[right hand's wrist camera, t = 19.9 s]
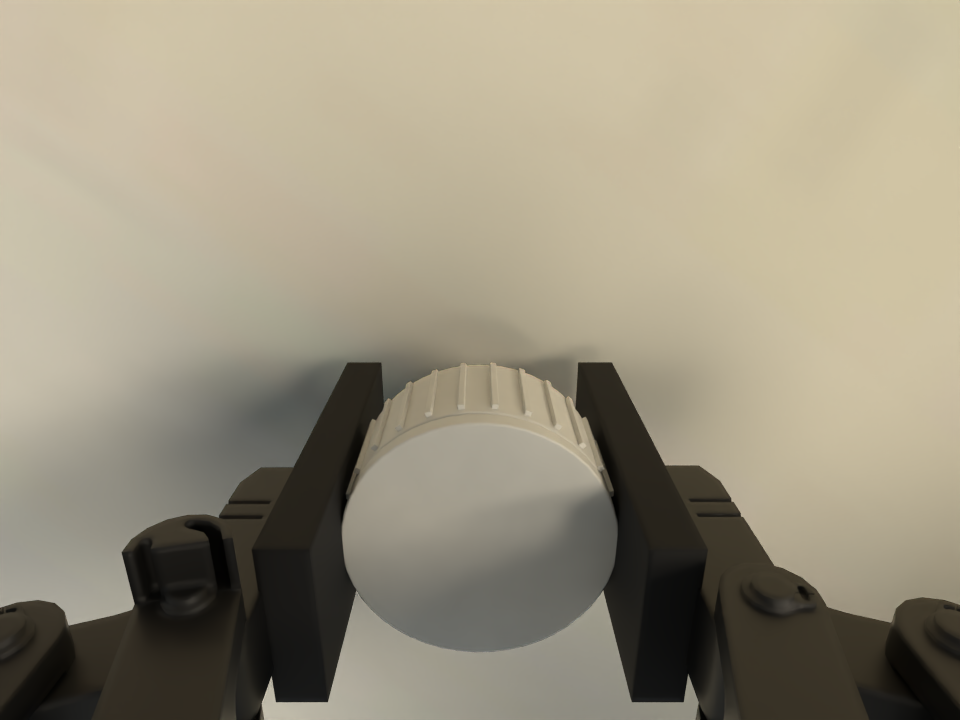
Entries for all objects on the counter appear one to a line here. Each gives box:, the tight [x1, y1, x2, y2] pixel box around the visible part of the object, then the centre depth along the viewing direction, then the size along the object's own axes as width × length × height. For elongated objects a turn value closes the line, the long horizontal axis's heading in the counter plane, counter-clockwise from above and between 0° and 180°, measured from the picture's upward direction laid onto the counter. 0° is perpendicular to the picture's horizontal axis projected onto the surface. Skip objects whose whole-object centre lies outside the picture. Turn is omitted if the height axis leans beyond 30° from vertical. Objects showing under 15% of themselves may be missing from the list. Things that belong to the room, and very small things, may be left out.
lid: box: [341, 363, 618, 652], centre depth 11 cm, size 5×5×2 cm
